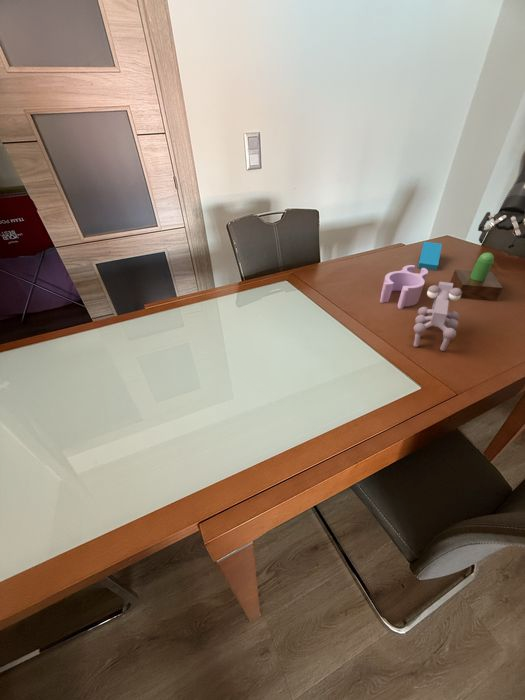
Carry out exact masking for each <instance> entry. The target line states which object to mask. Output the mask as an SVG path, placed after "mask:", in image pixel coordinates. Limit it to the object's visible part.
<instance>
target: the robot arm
mask: <svg viewBox="0 0 525 700" xmlns="http://www.w3.org/2000/svg"><path fill="white" fill-rule="evenodd" d="M518 165H519V167H518V170H517V171H518V172H517V176H516V178H515V181H514V182H513V184H512V186H511V187H510V189H509V190H508V192H507V194H506V196H505V198H504V200H503V202H502V204H501V206H500V207H499V210H498V212H497V213H496V214H492V213H491V211H487V212H486V213H485V215H484V216H483V218H482V220H481V221H480V223H479V225H478V228H477V232H481V234H480V235H479V237H478V242H479V244H483V242H484V240H485V238H486V236H487V234H488V233H490V232H491V231H494V230H496V229H497V230H504V231H511V234H512V236H513V237H512V239H511V241H510V243H509V245H508V248H507V249H512V248H514V247H515V246H516V244H517V242H518V240H519V239H525V230H524V231H523V232H521V230H520V225H522V224H523V226H524V227H525V150H523V152H522V154H521V157H520V161H519V163H518ZM491 220H493V221H492V222H491V223H489V224H488V225H486V224H487V223H488V222H490V221H491Z"/></svg>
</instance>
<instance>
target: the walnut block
mask: <svg viewBox="0 0 525 700" xmlns="http://www.w3.org/2000/svg"><path fill="white" fill-rule="evenodd" d="M472 271H473V270H467V269H454V271H453V273H452V276H451V279H450V281H449V283H453V288H459V289H460V290H461V291H462V294H461V297H460V299H467V300H468V299H469V300H479V301H481V300H482V301H490V302H491V301H493V302H497V301H498V299H499V297H500V295H501V294H502V292H503V290H504V287H503V286H502V284H501V283H500V281H499V280H498V278H497V277H496V276H495V274H494V273H493V272H492V271H489V273H488V275H487V277H486V279H485V280H484V281H476V280H473V279H471V278H470V275H471V273H472ZM453 288H452V289H453Z"/></svg>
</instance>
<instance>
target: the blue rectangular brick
mask: <svg viewBox="0 0 525 700" xmlns="http://www.w3.org/2000/svg"><path fill="white" fill-rule="evenodd" d="M442 246H443V244H442V243H439V242H429V241H423V244H422V246H421V247H422V248H421V252H420V256H419V261H418V265H417V268H418V269H422V268H425V269H427V270H431V271H437V269H438V267H439V262H440V257H441V252H442Z"/></svg>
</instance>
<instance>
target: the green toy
mask: <svg viewBox="0 0 525 700" xmlns="http://www.w3.org/2000/svg"><path fill="white" fill-rule="evenodd" d="M494 260H495V256H494V254H493V253H492V252H484V253H481V255H479V257H478V258H477V260H476V262H475V264H474V267H473V269H472V270H471V271H472V273H471V275H470V278H471V279H473V280H476V281H484V280H485V279H486V277H487V275H488V273H489V272H490V270H491V269H492V267H493V264H494Z"/></svg>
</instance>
